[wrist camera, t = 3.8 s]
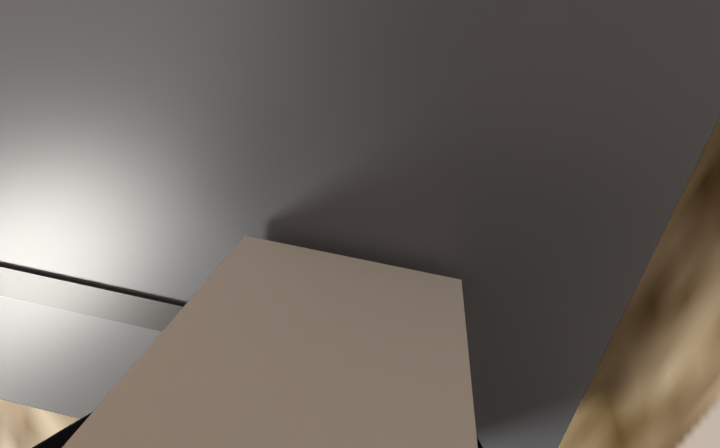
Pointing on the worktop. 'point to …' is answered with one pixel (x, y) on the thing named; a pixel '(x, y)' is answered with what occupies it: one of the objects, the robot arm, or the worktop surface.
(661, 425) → the worktop surface
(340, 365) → the fader cream
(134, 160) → the console
